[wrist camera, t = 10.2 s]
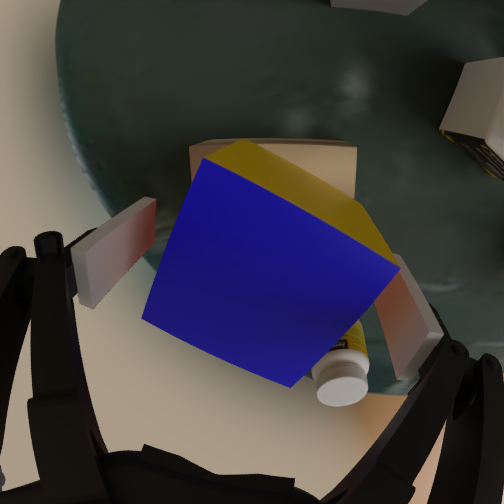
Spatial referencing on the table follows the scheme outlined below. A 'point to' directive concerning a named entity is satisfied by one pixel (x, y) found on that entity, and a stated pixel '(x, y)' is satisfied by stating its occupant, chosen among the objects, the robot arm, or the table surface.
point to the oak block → (298, 157)
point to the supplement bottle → (343, 370)
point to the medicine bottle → (479, 114)
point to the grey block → (380, 5)
